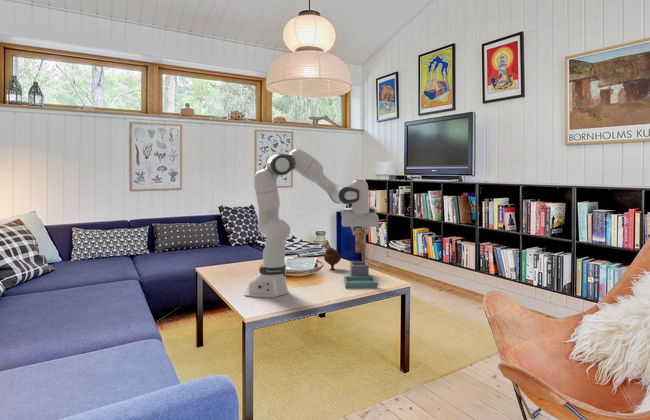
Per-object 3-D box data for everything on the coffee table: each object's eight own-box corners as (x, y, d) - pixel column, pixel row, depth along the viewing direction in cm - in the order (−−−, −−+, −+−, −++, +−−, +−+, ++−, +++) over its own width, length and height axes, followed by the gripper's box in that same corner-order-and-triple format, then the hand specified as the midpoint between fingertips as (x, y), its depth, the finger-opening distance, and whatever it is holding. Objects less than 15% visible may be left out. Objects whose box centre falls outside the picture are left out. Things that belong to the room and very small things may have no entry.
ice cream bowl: (334, 274, 241) (334, 250, 240) (320, 271, 248) (320, 248, 247) (344, 270, 250) (344, 247, 248) (330, 268, 256) (330, 245, 255)
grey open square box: (351, 280, 227) (351, 265, 226) (349, 275, 237) (349, 261, 236) (368, 279, 227) (368, 265, 227) (366, 275, 237) (366, 261, 237)
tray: (345, 288, 211) (345, 282, 210) (343, 281, 225) (343, 276, 224) (377, 288, 211) (377, 282, 211) (373, 281, 225) (373, 275, 225)
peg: (356, 252, 214) (356, 229, 212) (355, 251, 219) (355, 228, 217) (365, 252, 214) (365, 229, 213) (364, 251, 219) (364, 227, 218)
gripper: (341, 210, 211) (341, 235, 212) (379, 209, 211) (379, 235, 212) (340, 209, 217) (340, 234, 218) (377, 208, 217) (377, 233, 219)
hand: (360, 234), depth 215 cm, fingers closed on peg, 5 cm apart
